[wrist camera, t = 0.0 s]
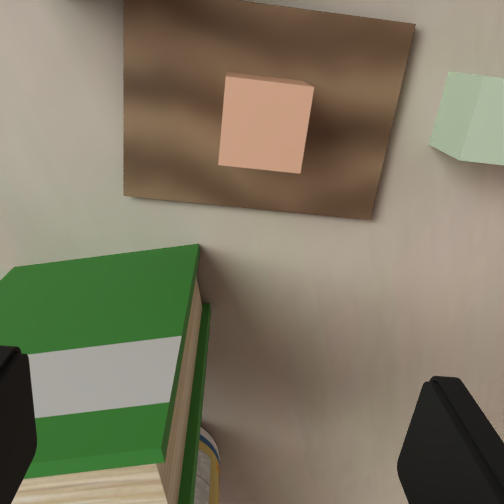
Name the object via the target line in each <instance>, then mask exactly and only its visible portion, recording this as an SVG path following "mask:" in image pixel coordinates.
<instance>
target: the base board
mask: <svg viewBox="0 0 504 504" xmlns="http://www.w3.org/2000/svg"><path fill="white" fill-rule="evenodd" d="M415 25H416V24H411V23H404V22H396V21H389V20H381V19H374V18H366V17H359V16H351V15H344V14H336V13H329V12H321V11H314V10H306V9H299V8H291V7H284V6H276V5H269V4H261V3H254V2H246V1H239V0H124V196H130V197H140V198H151V199H161V200H171V201H181V202H192V203H202V204H212V205H222V206H232V207H243V208H253V209H263V210H273V211H284V212H294V213H304V214H314V215H324V216H335V217H345V218H355V219H365V220H370V218H371V214H372V210H373V205H374V201H375V197H376V193H377V188H378V184H379V180H380V175H381V171H382V167H383V162H384V158H385V154H386V150H387V145H388V141H389V137H390V132H391V128H392V124H393V119H394V115H395V111H396V107H397V102H398V98H399V94H400V89H401V85H402V81H403V76H404V72H405V68H406V64H407V59H408V55H409V51H410V46H411V42H412V38H413V33H414V29H415ZM227 72H233V73H241V74H250V75H258V76H266V77H275V78H283V79H291V80H299V81H304V82H306V83H308V84H310V85H311V86H313V87H314V92H313V98H312V105H311V111H310V117H309V123H308V130H307V136H306V142H305V148H304V155H303V161H302V167H301V173H300V174H298V173H289V172H279V171H270V170H260V169H251V168H241V167H232V166H222V165H218V161H219V150H220V138H221V126H222V114H223V103H224V91H225V79H226V74H227Z"/></svg>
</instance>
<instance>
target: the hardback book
mask: <svg viewBox="0 0 504 504" xmlns="http://www.w3.org/2000/svg"><path fill="white" fill-rule="evenodd" d="M199 257H200V249H199V244H194V245H186V246H178V247H170V248H162V249H154V250H146V251H138V252H130V253H122V254H115V255H107V256H99V257H91V258H83V259H75V260H67V261H59V262H51V263H44V264H36V265H28V266H20V267H14V268H13V269H12V270H11V271H10V272H9V273H8V274H7V275H6V276H5V277H4V278H3V279H2V280H1V281H0V345H3V346H17V347H19V348H20V349H21V353H24V354H27V355H28V357H29V365H30V374H31V384H32V394H33V404H34V413H35V423H36V433H37V448H36V453H35V456H34V458H33V460H32V462H31V464H30V466H29V468H28V470H27V473H26V475H25V477H24V479H23V481H22V483H21V485H20V487H19V489H18V491H17V493H16V495H15V497H14V499H13V501H12V503H11V504H194V495H195V484H196V473H197V462H198V451H199V439H200V428H201V417H202V406H203V395H204V384H205V373H206V362H207V351H208V340H209V329H210V318H211V308H210V303H207V304H202V303H201V297H200V292H199V287H198V282H197V277H196V275H197V269H198V263H199Z"/></svg>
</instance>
